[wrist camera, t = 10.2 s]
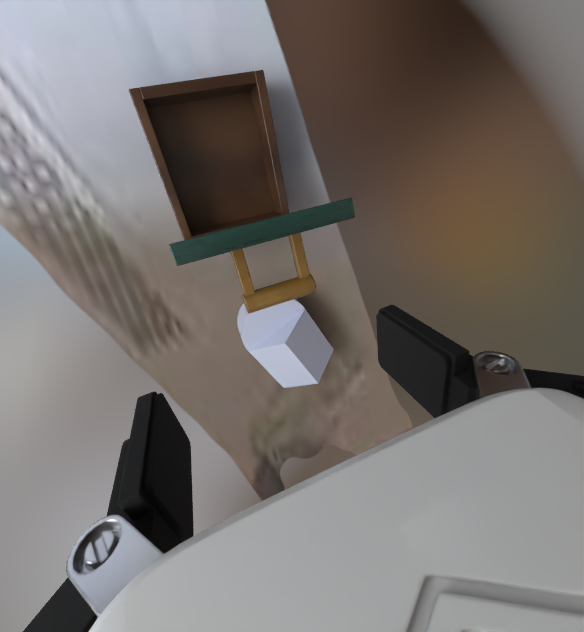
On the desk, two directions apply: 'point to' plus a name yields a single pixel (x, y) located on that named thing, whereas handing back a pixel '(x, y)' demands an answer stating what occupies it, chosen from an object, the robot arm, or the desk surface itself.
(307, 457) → the desk surface
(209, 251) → the panel with handle
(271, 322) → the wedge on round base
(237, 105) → the drawer box
